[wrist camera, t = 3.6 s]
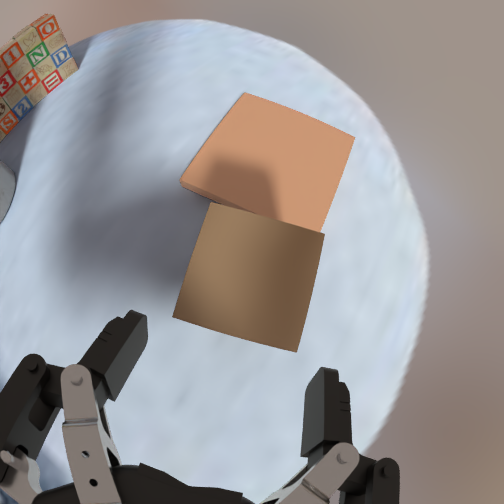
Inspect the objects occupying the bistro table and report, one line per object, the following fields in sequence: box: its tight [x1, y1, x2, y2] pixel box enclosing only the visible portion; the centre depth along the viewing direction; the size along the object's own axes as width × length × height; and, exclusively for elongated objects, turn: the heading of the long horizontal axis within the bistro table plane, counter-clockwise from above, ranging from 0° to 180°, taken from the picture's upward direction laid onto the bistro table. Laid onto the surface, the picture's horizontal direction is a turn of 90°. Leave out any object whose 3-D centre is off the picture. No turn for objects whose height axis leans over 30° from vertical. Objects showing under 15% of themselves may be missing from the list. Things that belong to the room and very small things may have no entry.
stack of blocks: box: [0, 14, 78, 142], centre depth 20 cm, size 21×6×12 cm, turn 138°
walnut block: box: [172, 202, 325, 352], centre depth 15 cm, size 5×5×10 cm
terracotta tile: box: [180, 93, 355, 232], centre depth 23 cm, size 12×12×1 cm
